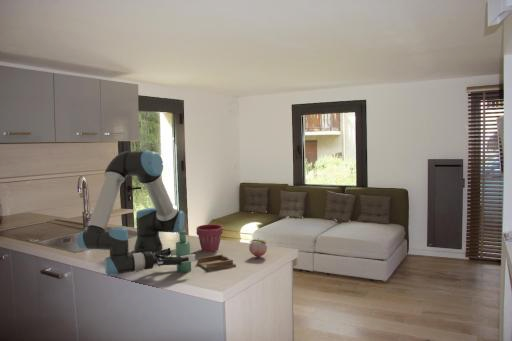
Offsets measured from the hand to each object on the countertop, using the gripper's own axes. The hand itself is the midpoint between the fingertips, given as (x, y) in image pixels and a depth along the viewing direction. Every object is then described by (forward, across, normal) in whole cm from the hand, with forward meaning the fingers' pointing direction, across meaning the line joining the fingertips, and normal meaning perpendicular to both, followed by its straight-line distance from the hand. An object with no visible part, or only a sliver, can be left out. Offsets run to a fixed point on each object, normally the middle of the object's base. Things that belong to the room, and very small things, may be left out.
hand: (189, 253), depth 186 cm
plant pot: (+22, -28, -8) cm, 37 cm away
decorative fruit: (+37, -1, -8) cm, 38 cm away
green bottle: (-3, 0, -7) cm, 8 cm away
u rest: (+13, 0, -8) cm, 15 cm away
